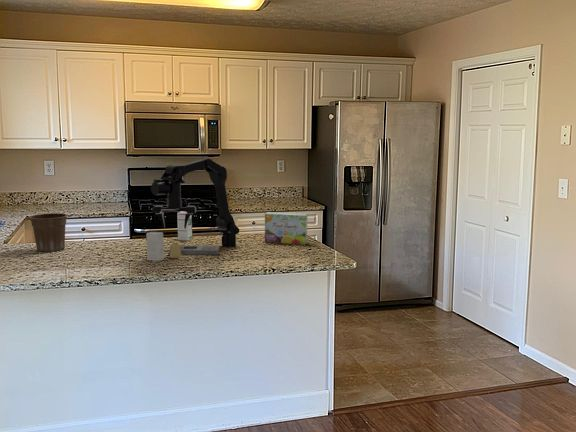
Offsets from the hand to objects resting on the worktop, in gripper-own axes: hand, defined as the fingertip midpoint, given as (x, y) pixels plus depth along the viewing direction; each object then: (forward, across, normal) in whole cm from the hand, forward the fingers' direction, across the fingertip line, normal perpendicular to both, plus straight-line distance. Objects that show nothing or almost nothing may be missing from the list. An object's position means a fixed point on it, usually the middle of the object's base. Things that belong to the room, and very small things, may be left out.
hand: (174, 228), depth 253 cm
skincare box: (+13, +7, +7) cm, 16 cm away
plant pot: (+13, +60, -15) cm, 63 cm away
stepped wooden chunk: (+12, -1, +1) cm, 13 cm away
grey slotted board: (+12, -8, -8) cm, 17 cm away
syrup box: (+12, 0, -40) cm, 41 cm away
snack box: (+12, -52, -30) cm, 61 cm away
